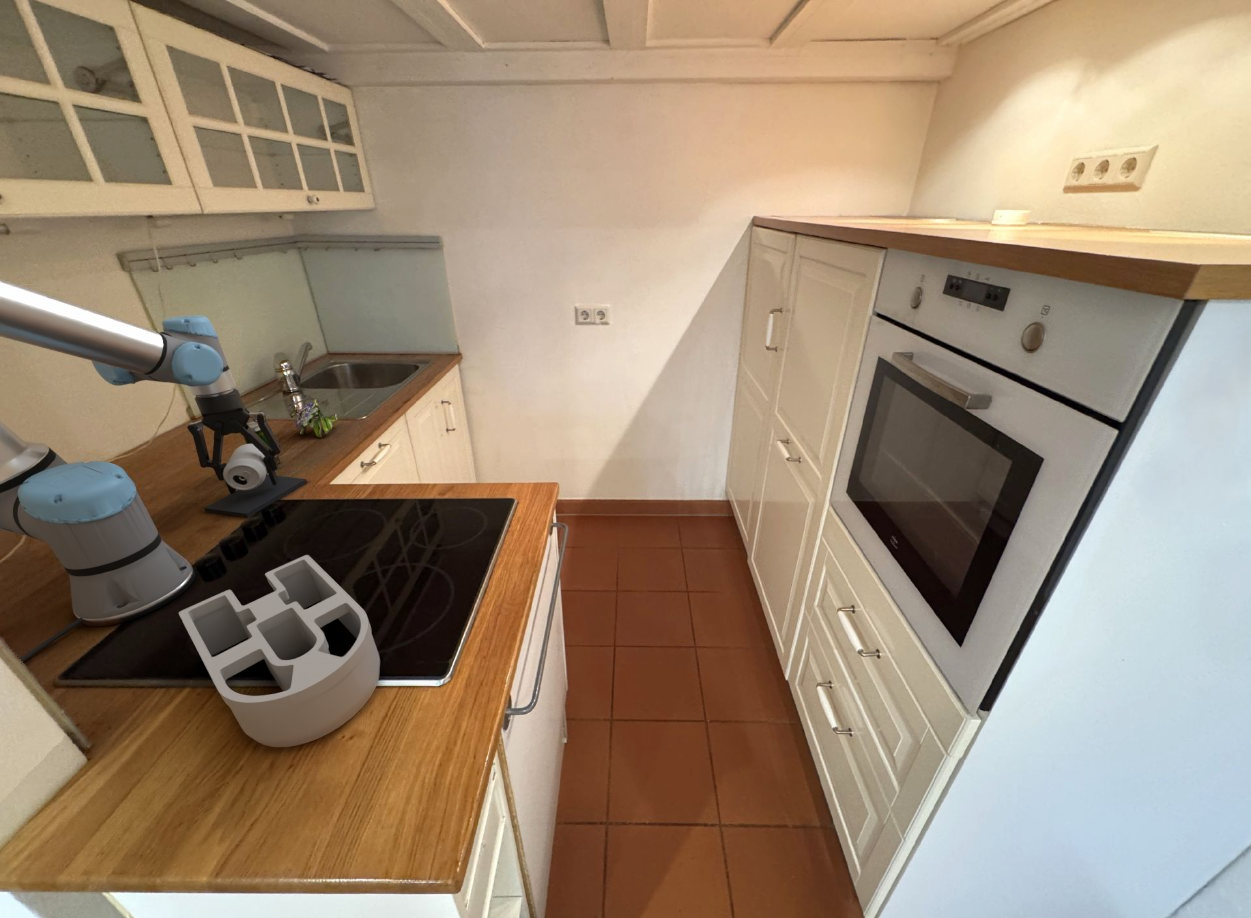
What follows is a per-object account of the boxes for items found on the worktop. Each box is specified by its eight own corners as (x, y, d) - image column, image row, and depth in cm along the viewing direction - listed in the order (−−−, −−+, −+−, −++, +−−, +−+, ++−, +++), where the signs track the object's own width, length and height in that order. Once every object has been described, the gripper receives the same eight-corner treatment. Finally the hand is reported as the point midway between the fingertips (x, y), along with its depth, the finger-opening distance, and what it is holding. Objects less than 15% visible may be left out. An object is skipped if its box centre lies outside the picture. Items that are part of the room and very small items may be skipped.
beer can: (285, 461, 133) (269, 419, 127) (275, 470, 128) (259, 427, 122) (263, 463, 132) (246, 421, 127) (252, 473, 127) (235, 429, 122)
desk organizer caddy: (323, 595, 84) (307, 554, 80) (406, 684, 67) (391, 637, 64) (203, 657, 73) (178, 612, 69) (267, 781, 56) (238, 731, 52)
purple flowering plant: (310, 450, 152) (287, 417, 151) (345, 434, 157) (324, 401, 157) (306, 441, 142) (282, 405, 141) (344, 424, 148) (322, 389, 147)
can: (225, 458, 116) (212, 480, 106) (248, 436, 116) (238, 455, 106) (256, 477, 120) (247, 499, 110) (279, 455, 121) (272, 475, 111)
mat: (247, 517, 108) (246, 513, 107) (205, 511, 110) (203, 507, 110) (307, 482, 121) (306, 478, 121) (267, 478, 124) (266, 474, 124)
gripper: (274, 379, 112) (306, 470, 122) (161, 395, 104) (205, 490, 114) (269, 388, 106) (303, 483, 116) (148, 406, 98) (196, 505, 108)
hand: (254, 486), depth 115 cm, fingers closed on can, 7 cm apart
